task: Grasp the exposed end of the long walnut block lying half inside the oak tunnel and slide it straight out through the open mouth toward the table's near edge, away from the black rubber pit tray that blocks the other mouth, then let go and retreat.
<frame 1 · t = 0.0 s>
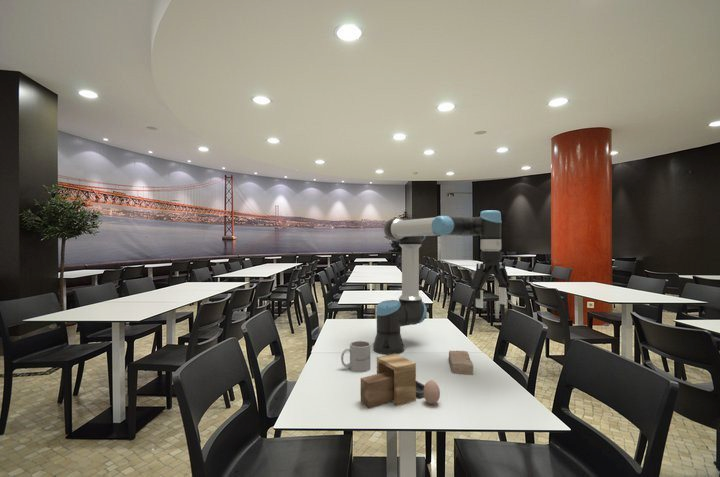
hand: (491, 305, 128), 28 cm above the table, fingers open, 13 cm apart
pit tray: (415, 390, 118), on the table
egg: (431, 403, 108), on the table
brick: (460, 367, 140), on the table
tunnel: (395, 396, 113), on the table
mug: (355, 368, 139), on the table
walnut block: (383, 400, 111), on the table
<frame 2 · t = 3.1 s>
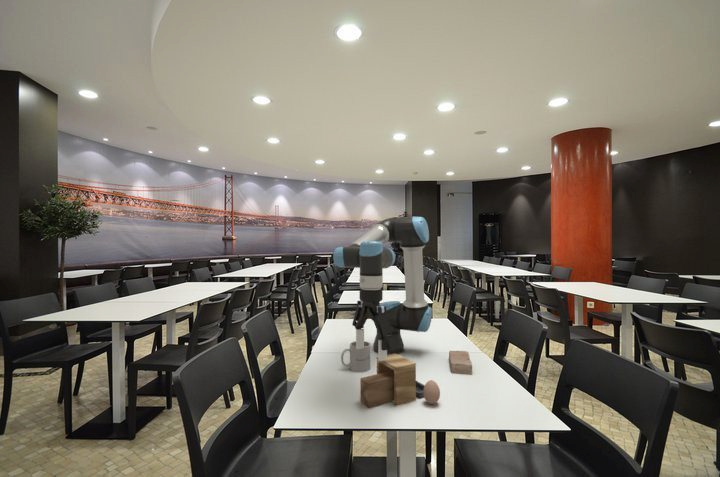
hand: (370, 354, 108), 16 cm above the table, fingers open, 13 cm apart
nothing on the table moved.
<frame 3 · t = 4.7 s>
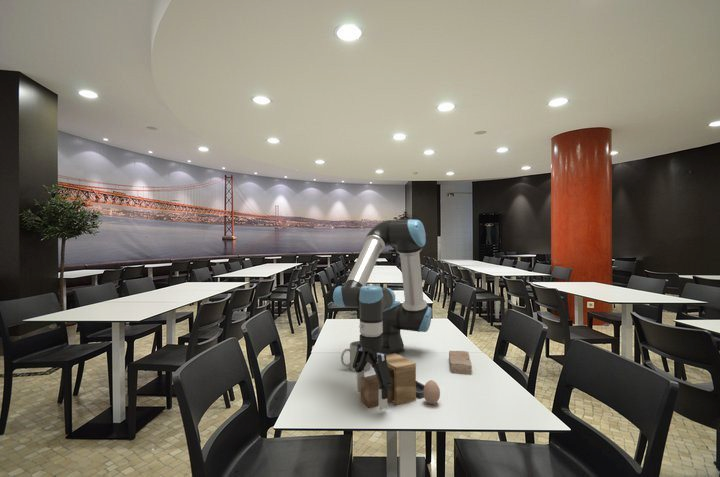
hand: (371, 399, 108), 1 cm above the table, fingers open, 13 cm apart
nothing on the table moved.
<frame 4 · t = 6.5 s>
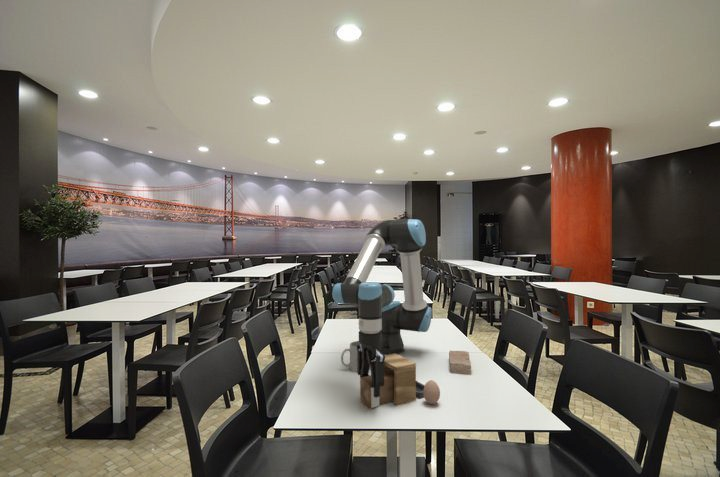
hand: (370, 402, 108), 0 cm above the table, fingers closed on walnut block, 5 cm apart
walnut block: (383, 399, 111), on the table, touching gripper
everything else where it was.
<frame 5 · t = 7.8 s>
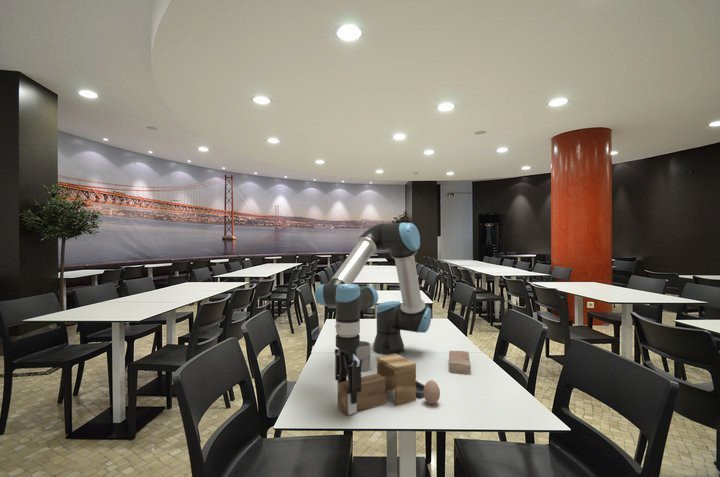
hand: (347, 408, 104), 0 cm above the table, fingers closed on walnut block, 5 cm apart
walnut block: (362, 405, 106), on the table, touching gripper
everything else where it was.
when the fingers open (0 cm above the table, at t = 9.6 s): walnut block stays where it is, on the table.
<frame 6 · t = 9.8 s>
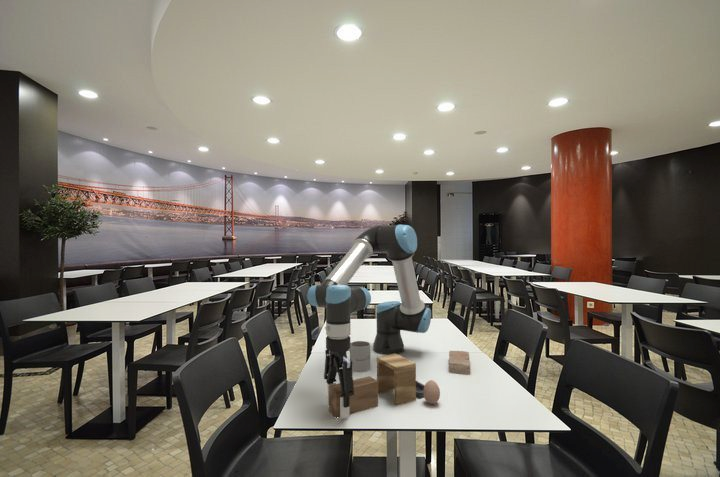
hand: (338, 410, 102), 1 cm above the table, fingers open, 8 cm apart
walnut block: (353, 409, 105), on the table
everything else where it was.
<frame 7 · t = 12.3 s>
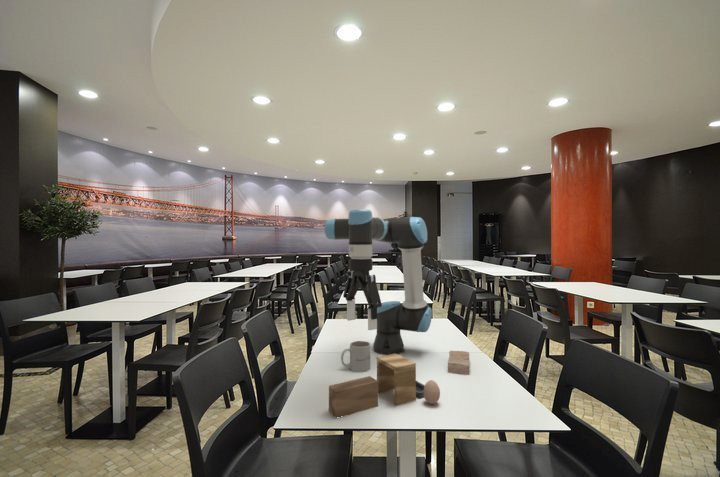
hand: (361, 324, 106), 26 cm above the table, fingers open, 13 cm apart
nothing on the table moved.
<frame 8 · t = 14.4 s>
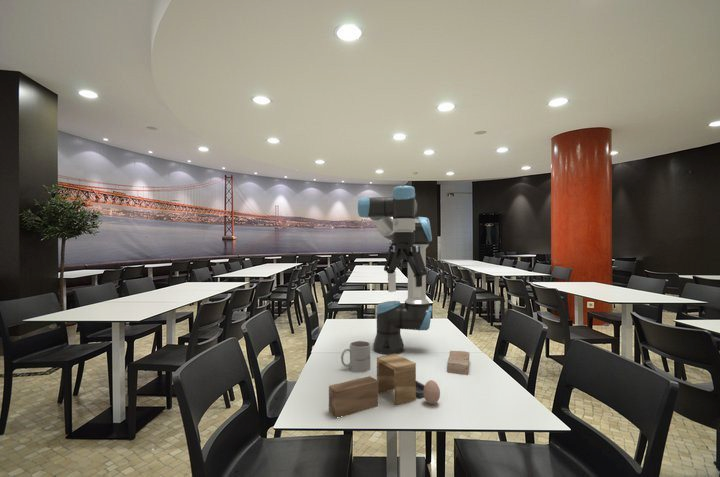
hand: (403, 294, 113), 35 cm above the table, fingers open, 13 cm apart
nothing on the table moved.
at the end: walnut block inside the target area (4.0 cm from its centre), on the table; walnut block touching table; the gripper is holding nothing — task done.
